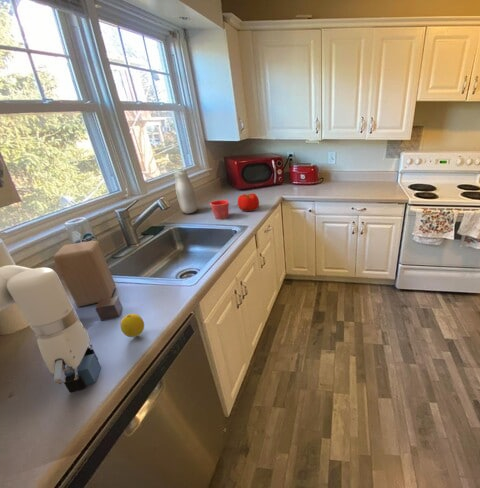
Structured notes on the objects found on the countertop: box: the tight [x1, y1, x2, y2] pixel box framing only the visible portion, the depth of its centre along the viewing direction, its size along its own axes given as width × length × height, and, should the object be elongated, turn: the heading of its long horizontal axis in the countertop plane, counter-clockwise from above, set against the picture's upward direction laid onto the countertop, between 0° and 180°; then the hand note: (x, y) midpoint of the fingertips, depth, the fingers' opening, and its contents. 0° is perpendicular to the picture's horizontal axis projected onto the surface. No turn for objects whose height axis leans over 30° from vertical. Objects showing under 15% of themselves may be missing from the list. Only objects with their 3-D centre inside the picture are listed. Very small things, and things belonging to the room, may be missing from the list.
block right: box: [95, 295, 124, 322], centre depth 91 cm, size 5×5×5 cm
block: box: [53, 240, 116, 307], centre depth 97 cm, size 10×10×20 cm
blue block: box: [65, 353, 102, 386], centre depth 69 cm, size 5×5×5 cm
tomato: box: [237, 192, 260, 212], centre depth 186 cm, size 14×13×10 cm
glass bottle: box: [173, 168, 198, 215], centre depth 177 cm, size 10×10×28 cm
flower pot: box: [209, 199, 230, 220], centre depth 173 cm, size 11×11×10 cm
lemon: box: [120, 313, 145, 338], centre depth 82 cm, size 6×6×8 cm
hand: (85, 375), depth 70 cm, fingers open, 7 cm apart
